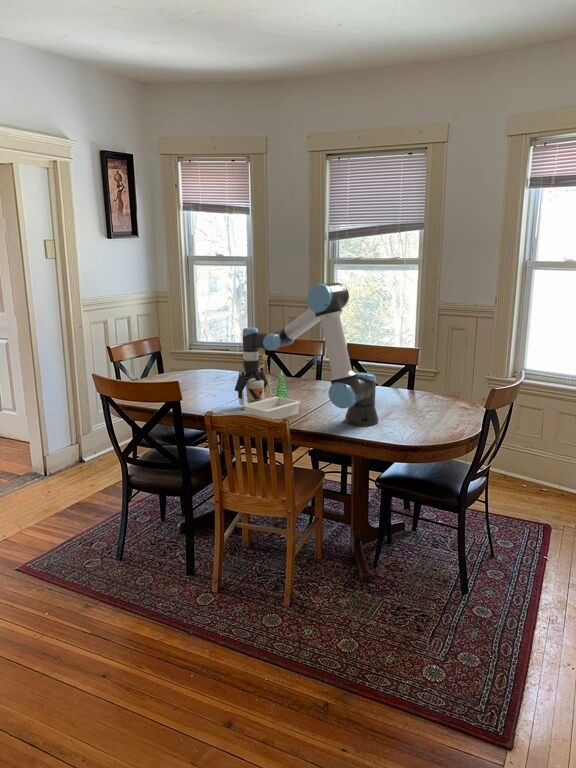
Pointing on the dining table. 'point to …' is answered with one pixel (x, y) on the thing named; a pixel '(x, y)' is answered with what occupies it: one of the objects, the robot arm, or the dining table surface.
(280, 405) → the white rectangular tray
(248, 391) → the coffee cup
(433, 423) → the dining table surface
